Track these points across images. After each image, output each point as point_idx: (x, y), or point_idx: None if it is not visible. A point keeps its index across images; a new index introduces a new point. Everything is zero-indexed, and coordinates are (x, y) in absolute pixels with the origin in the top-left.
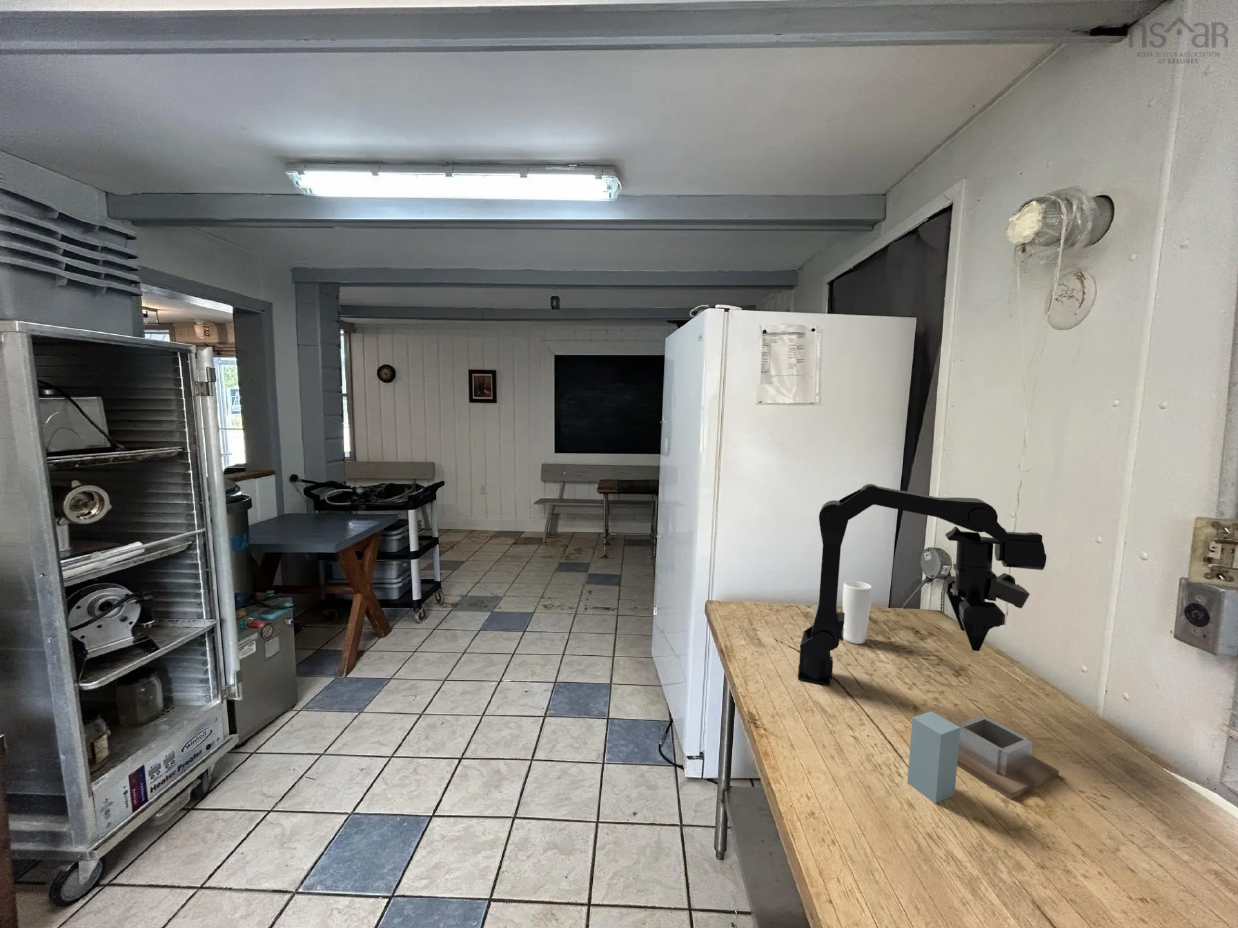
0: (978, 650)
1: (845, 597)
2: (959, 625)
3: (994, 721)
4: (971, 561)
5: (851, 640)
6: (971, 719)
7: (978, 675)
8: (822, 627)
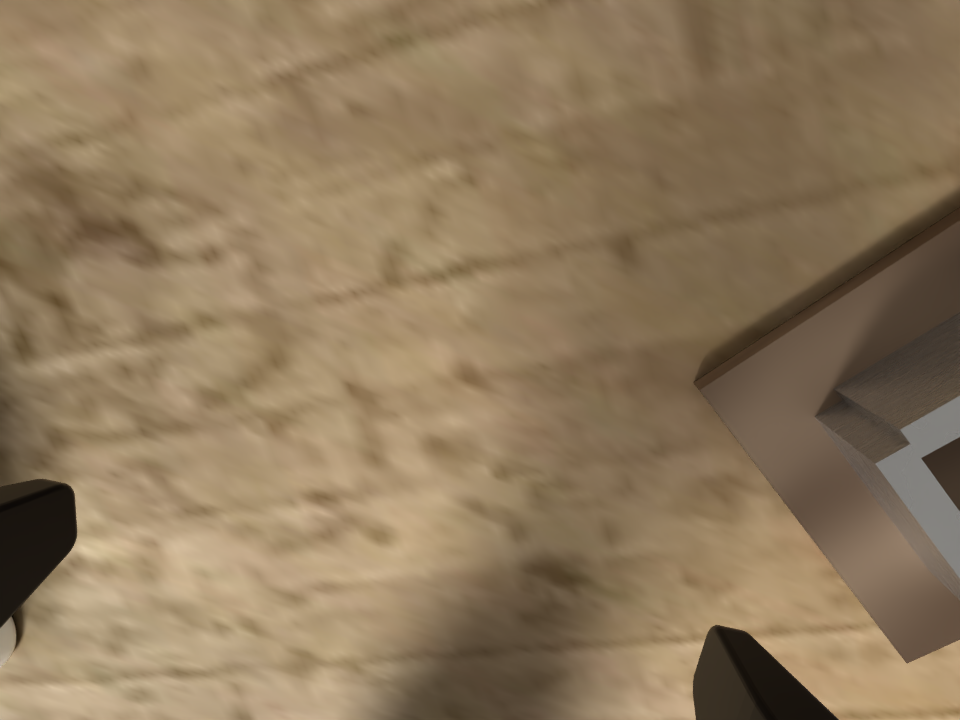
0: (747, 643)
1: None
2: (10, 604)
3: (942, 411)
4: None
5: (7, 655)
6: (936, 538)
7: (94, 121)
8: None
